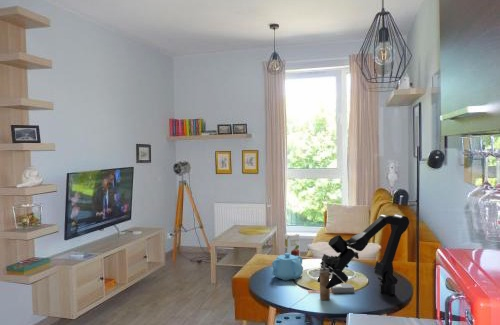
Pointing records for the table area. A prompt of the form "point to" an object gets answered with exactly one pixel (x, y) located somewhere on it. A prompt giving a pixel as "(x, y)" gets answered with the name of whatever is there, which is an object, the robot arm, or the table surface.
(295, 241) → the juice carton
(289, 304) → the table surface
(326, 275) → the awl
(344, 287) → the block
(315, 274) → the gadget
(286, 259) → the decorative pot
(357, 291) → the table surface
